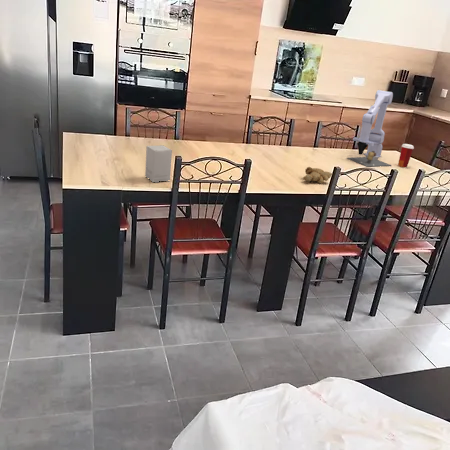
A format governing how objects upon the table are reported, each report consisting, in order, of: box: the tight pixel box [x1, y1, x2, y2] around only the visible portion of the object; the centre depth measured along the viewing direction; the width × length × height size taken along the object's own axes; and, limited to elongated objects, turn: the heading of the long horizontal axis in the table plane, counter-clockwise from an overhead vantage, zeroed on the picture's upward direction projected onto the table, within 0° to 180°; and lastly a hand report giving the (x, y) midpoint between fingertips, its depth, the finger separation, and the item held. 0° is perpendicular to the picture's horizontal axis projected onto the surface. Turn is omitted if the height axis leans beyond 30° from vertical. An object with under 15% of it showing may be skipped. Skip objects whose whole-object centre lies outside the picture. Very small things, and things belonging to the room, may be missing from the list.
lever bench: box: [346, 155, 392, 168], centre depth 289 cm, size 21×19×3 cm
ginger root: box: [302, 166, 333, 184], centre depth 235 cm, size 16×16×8 cm
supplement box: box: [144, 145, 173, 183], centre depth 205 cm, size 9×9×15 cm
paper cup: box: [397, 143, 415, 168], centre depth 288 cm, size 8×8×14 cm
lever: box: [367, 151, 376, 160], centre depth 290 cm, size 18×4×4 cm, turn 156°
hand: (360, 154), depth 286 cm, fingers closed
